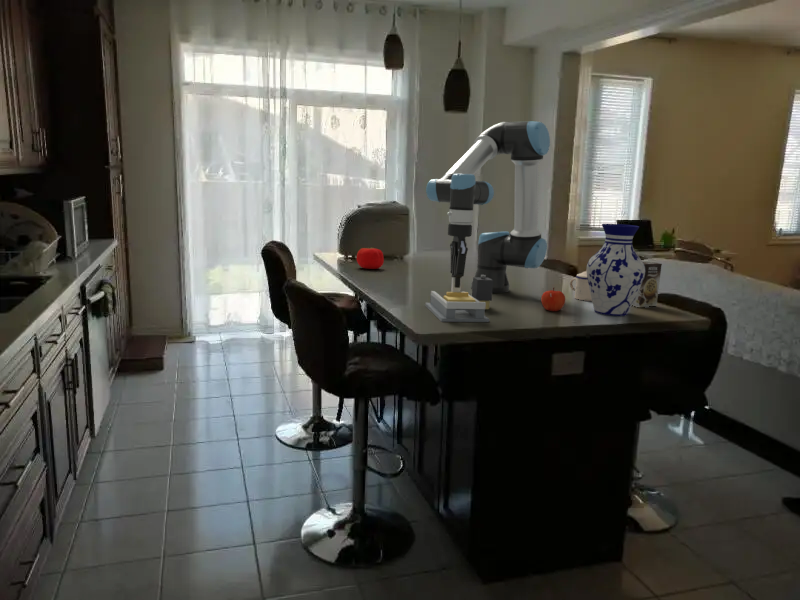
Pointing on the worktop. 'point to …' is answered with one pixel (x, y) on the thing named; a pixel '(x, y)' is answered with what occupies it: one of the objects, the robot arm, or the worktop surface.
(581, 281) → the teacup with lid
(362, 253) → the tomato
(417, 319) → the worktop surface
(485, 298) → the plug
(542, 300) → the apple
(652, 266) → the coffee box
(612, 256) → the vase
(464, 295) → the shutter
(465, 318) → the socket
